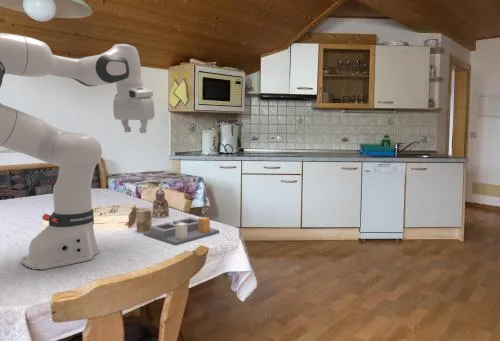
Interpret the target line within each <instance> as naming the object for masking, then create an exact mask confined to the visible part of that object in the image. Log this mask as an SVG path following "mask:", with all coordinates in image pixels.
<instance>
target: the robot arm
mask: <svg viewBox="0 0 500 341" xmlns="http://www.w3.org/2000/svg"><path fill="white" fill-rule="evenodd" d="M5 75H13V76H19V77H32V78H33V77H35V78H36V77H46V76H50V75H51V76H55V77H56V76H57V77H61V78H62V77H63V78H68V79H72V80H74V81H75V82H78V83H79V84H82V85H83V86H86V87H90V88H91V87H96V86H102V85H103V86H104V85H112V84H114V83H115V85H116V94H115V96H114V99H113V103H112V104H113V106H112V107H113V117H114V119H115V120H116V121H117V120H118V121H119V120H120V122H121V124H122V126H123V128H124V133H131V132H132V128H131V126H130V125H129V121H130V120H131V121H139V123H140V124H141V125H140V127H139V133H140V134H146V133H147V127H148V123H149V120H154V119H155V116H156V115H155V104H154V99H153V96H154V93H153V90H151V89H149V88H147V87H146V86H144V85H143V84H144V83H143V80H142V77H141V75H142V66H141V60H140V55H139V51H138V50H137V48H136V47H135V46H134V45H132V44H128V43H116V44H114V45H113V46H112V47H111V48H110V49H109V50H106V51H105V52H102V53H100V54H96V55H95V54H94V55H89V56H88V55H86V56H81V57H78V58H70V57H67V56H66V57H65V56H61V55H56V54H53V52H52V50H51V48H50V46H48V43H46V42H44V41H41V40H39V39H37V38H33V37H30V36H26V35H20V34H12V33H7V32H6V33H5V32H0V88H1V87H2V84H3V79H4V77H5ZM0 147H2V148H5V149H9V150H11V151H15V152H17V153H21V154H24V155H27V156H29V157H32V158H33V159H38V160H39V161H43V162H45V163H48V164H50V165H53V166H56V167H58V174H57V178H56V182H55V184H53V188H52V199H53V212H52V213H51V214H48V213H44V214H43V215H42V217H41V218H42V220H43V221H46V222H48V225H47V226H46V227H45V228H43V230H42V231H40V233H38V234H37V235H36V236H35V237H34V238H33V239H31V240H30V244H29V248H28V254H26V255H24V256H22V257H21V259H20V263H21V264H22V265H23V264H24V265H25V266H24V265H23V266H24V267H26V266H27V267H26V268H28V267H29V269H31V268H32V270H36V269H40V271H43V270H47V269H53V268H58V267H62V266H68V265H72V264H73V265H74V264H77V263H82V262H89V261H92V260H93V259H94V257H95V256H96V255H98V254H99V252H100V249H99V246H98V243H97V241H96V237H95V236H96V235H95V230H94V223H95V219H94V218H95V216H94V209H93V207H92V205H93V204H92V183H93V182H92V181H93V177H94V173H95V168H96V166H97V165H98V164H99V162H100V161H101V158H102V155H103V150H102V149H103V148H102V146H101V143H100V142H99V141H98V140H97V139H96V138H94V137H92V136H91V135H89V134H86V133H83V132H71V131H65V130H62V129H59V128H57V127H55V126H52V125H51V124H49V123H47V122H45V121H44V120H43V119H41V118H38V117H36V116H34V115H31V114H29V113H26V112H23V111H20V110H18V109H16V108H13V107H11V106H8V105H5V104H3V103H1V102H0ZM42 269H43V270H42Z"/></svg>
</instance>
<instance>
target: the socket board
mask: <svg viewBox="0 0 500 341" xmlns="http://www.w3.org/2000/svg"><path fill="white" fill-rule="evenodd" d="M210 223H211V219H210V218H209V217H206V216H205V217H204V216H203V217H199V218H194V217H186V218H182V219H177V220H173V221H172V222H169V221H168V222H164V223H160V224H156V225H152V226H151V227H149V231H146V232H143V236H146V237H149V238H152V239H155V240H159V241H162V242H163V243H164V242H165V243H167V244H170V245H174V246H178V245H182V244H185V243H188V242H192V241H196V240H199V239H202V238H205V237H209V236H213V235H215V234H216V233H217V234H219V233H220V230H219V229H215V228H212V227H211V224H210Z"/></svg>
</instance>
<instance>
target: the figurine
mask: <svg viewBox="0 0 500 341" xmlns="http://www.w3.org/2000/svg"><path fill="white" fill-rule="evenodd" d="M165 196H166V195H165V191H164V190H163V189H162V188H158V190H156V192H155V199H154V200H153V202H152V211H151V217H152V218H156V219H163V218H168V217H169V215H170V214H169V213H170V212H169V211H170V210H169V204H168V203H169V202H168V200H167V199H165Z"/></svg>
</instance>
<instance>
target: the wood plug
mask: <svg viewBox="0 0 500 341" xmlns="http://www.w3.org/2000/svg"><path fill="white" fill-rule="evenodd" d="M135 212H136V214H135V216H136V219H135V220H136V231H137V232H139V233H143V232H146V231H149V227H151V226H153V225H152V210H150V209H147V208H143V209H138V210H135Z"/></svg>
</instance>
